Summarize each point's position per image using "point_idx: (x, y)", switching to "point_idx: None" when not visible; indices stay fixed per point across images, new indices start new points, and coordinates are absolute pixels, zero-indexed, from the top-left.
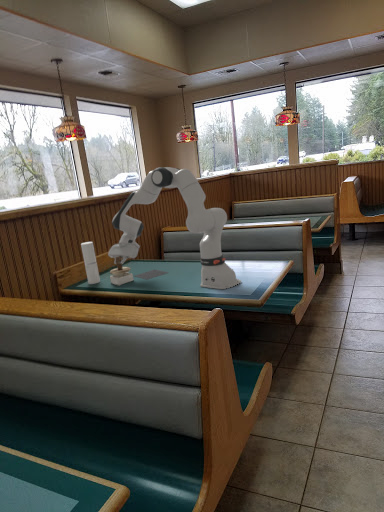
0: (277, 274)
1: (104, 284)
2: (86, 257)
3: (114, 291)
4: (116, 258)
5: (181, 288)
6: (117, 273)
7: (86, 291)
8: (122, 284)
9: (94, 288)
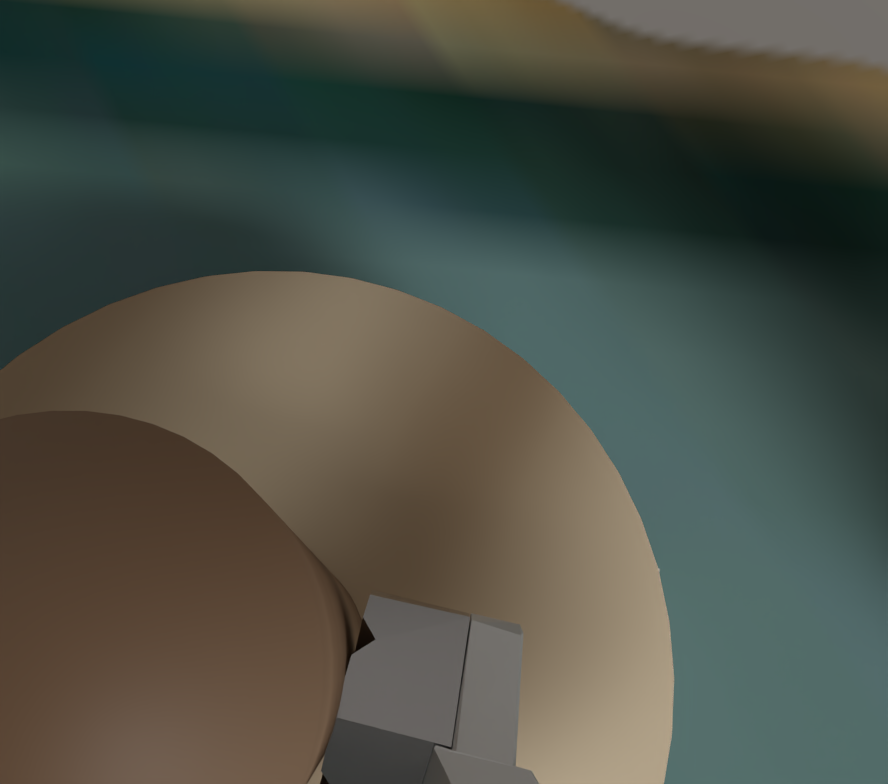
0: None
1: (729, 496)
2: None
3: (190, 16)
4: (142, 432)
5: None
6: (211, 290)
7: (847, 80)
8: None
9: (795, 237)
